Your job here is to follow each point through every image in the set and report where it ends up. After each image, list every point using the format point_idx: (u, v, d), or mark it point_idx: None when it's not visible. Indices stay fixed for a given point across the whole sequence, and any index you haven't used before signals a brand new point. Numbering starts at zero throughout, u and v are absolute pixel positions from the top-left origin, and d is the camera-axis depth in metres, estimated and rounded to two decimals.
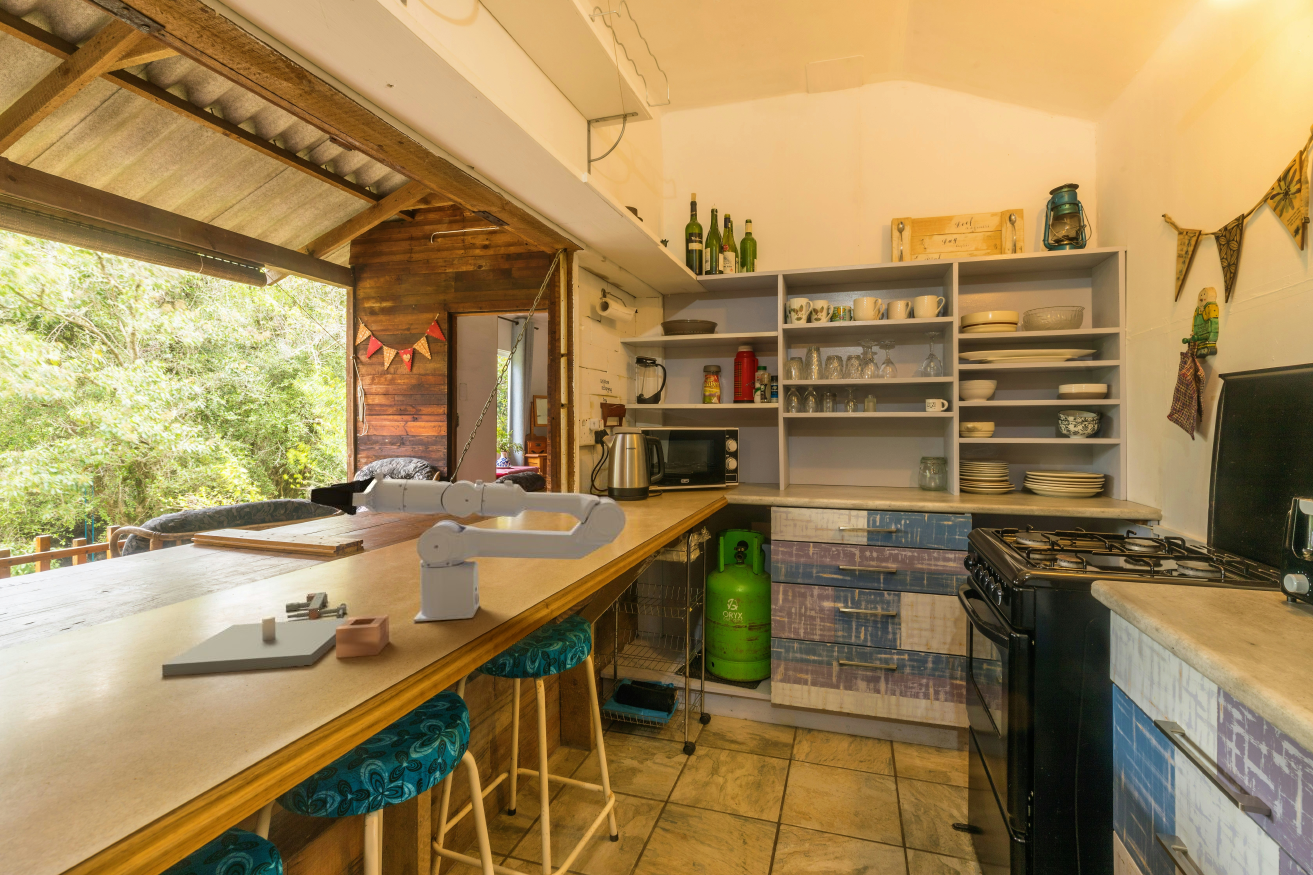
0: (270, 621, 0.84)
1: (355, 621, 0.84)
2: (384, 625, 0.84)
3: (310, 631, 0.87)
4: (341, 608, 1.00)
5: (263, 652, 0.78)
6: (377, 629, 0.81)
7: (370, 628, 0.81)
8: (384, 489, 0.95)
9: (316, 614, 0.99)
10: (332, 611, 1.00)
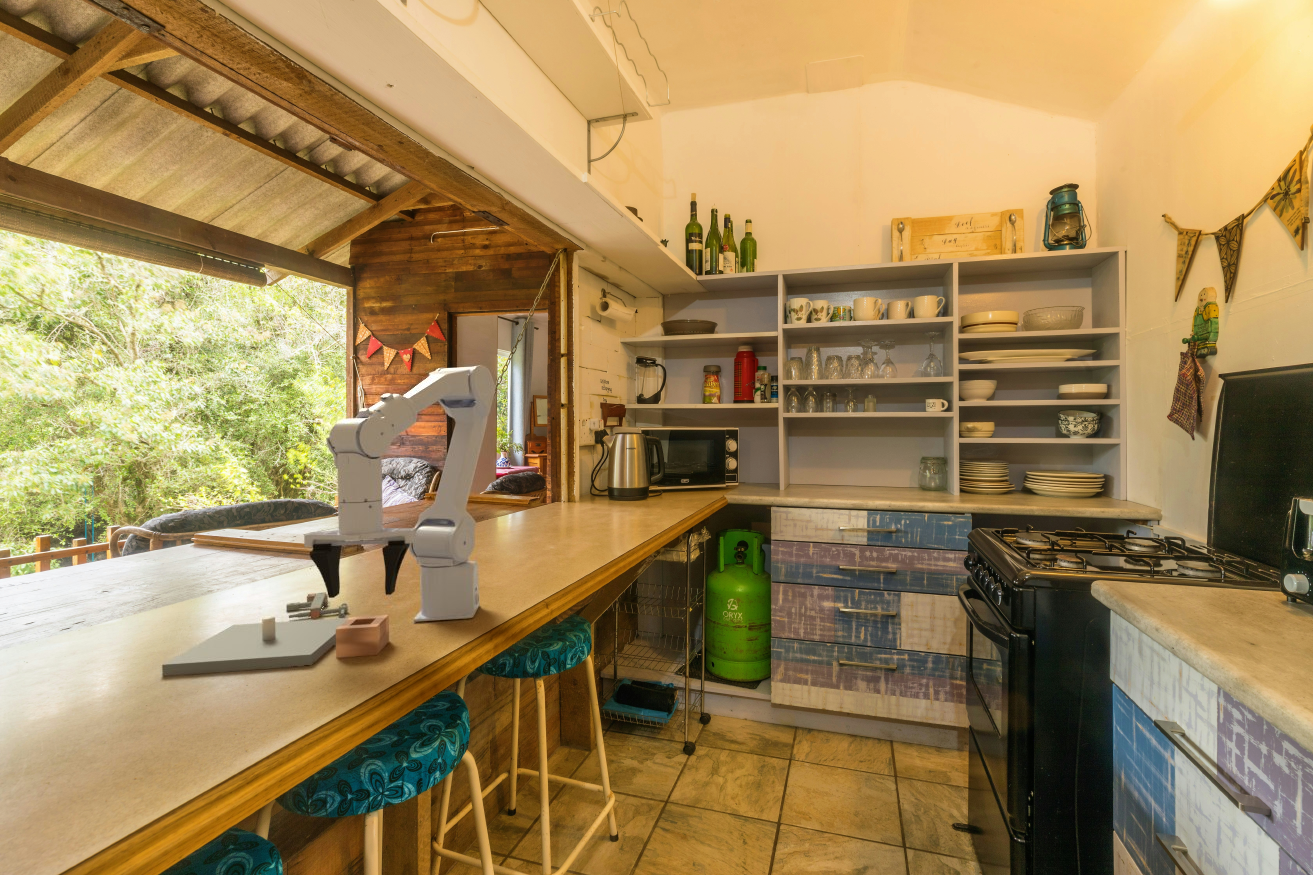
0: (270, 621, 0.84)
1: (355, 621, 0.84)
2: (384, 625, 0.84)
3: (310, 631, 0.87)
4: (343, 608, 1.00)
5: (263, 652, 0.78)
6: (377, 629, 0.81)
7: (370, 628, 0.81)
8: (376, 522, 0.82)
9: (318, 614, 0.99)
10: (334, 611, 1.00)
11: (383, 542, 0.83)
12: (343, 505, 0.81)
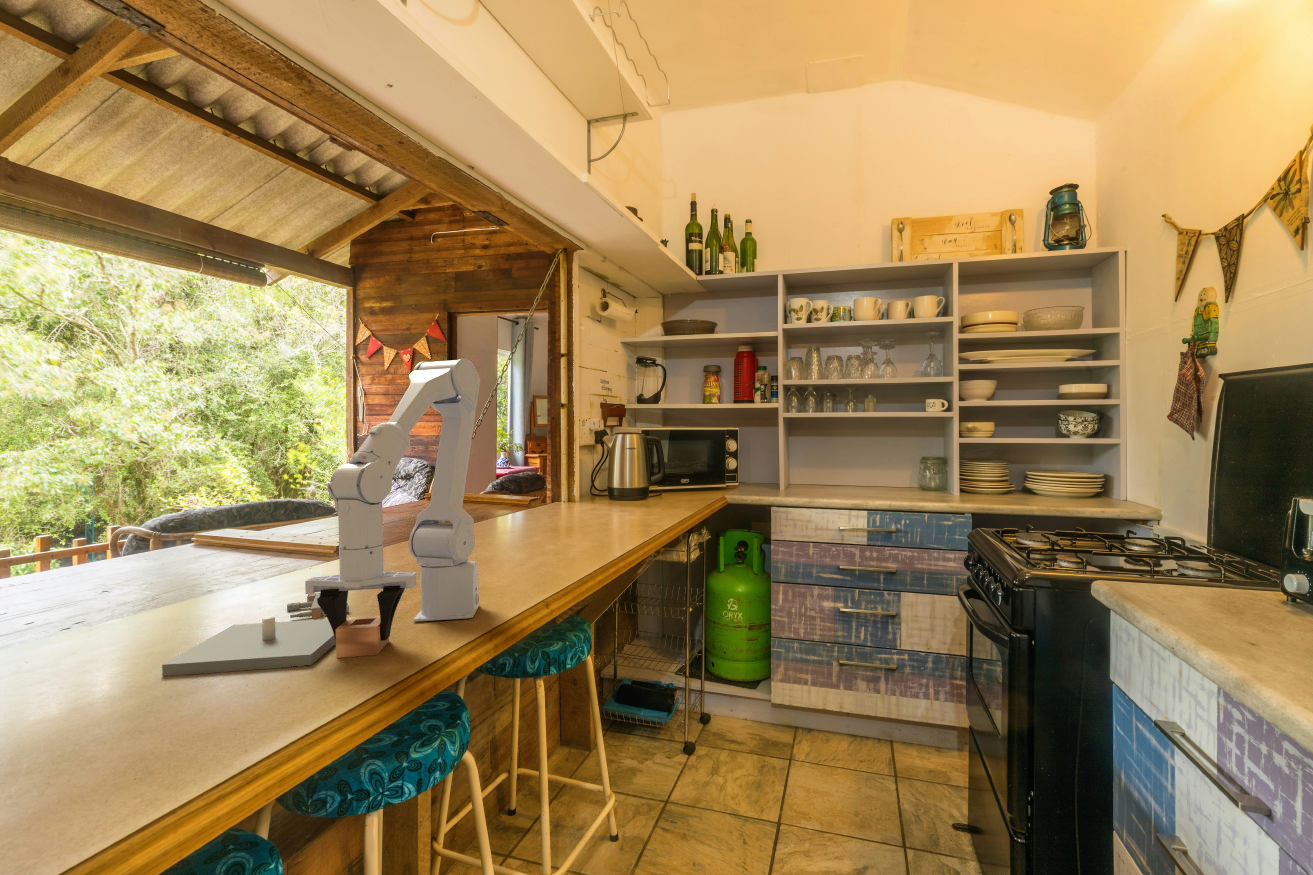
0: (270, 621, 0.84)
1: (355, 621, 0.84)
2: None
3: (310, 631, 0.87)
4: None
5: (263, 652, 0.78)
6: (377, 629, 0.81)
7: (370, 628, 0.81)
8: (377, 568, 0.82)
9: (319, 614, 0.99)
10: None
11: None
12: (344, 552, 0.81)
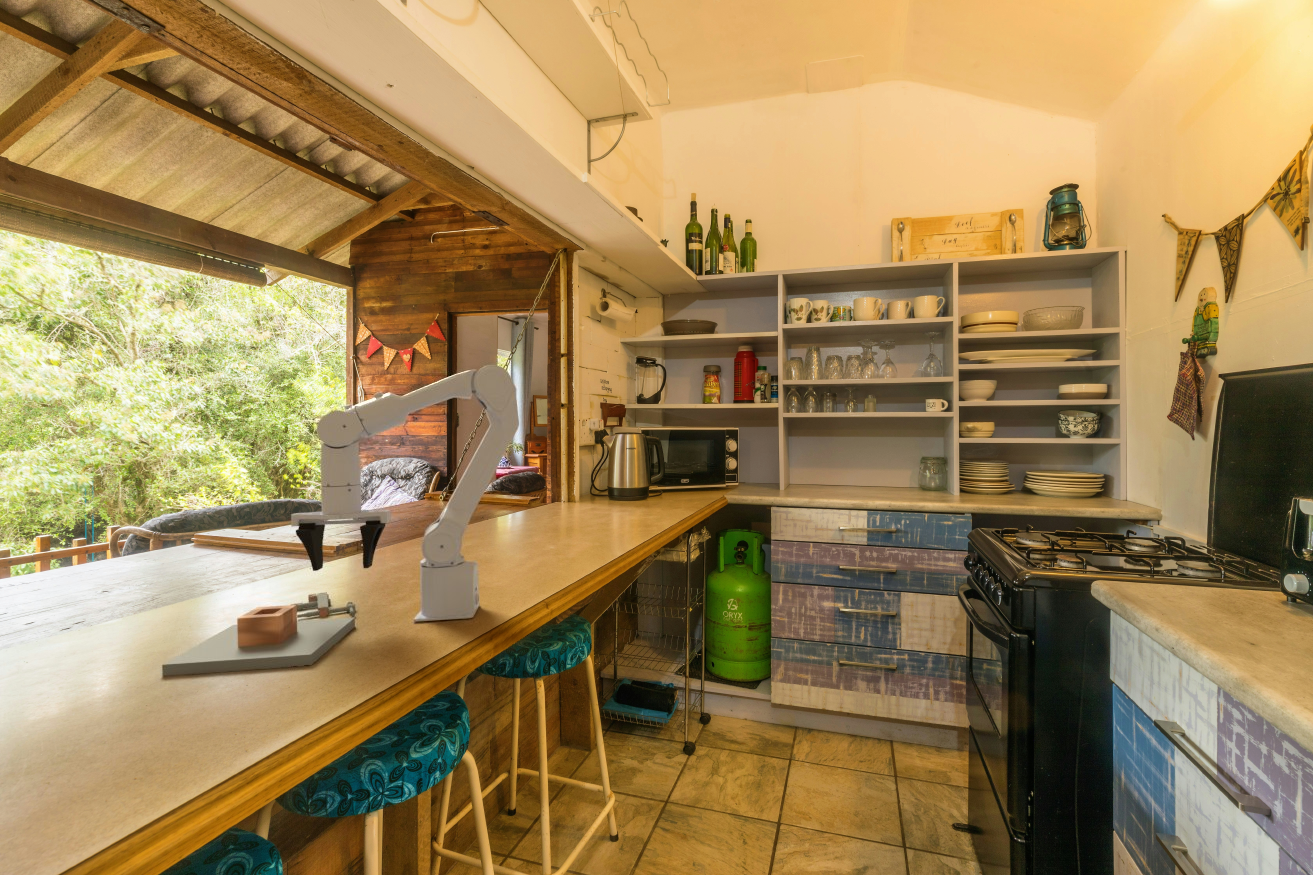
0: None
1: (261, 611, 0.85)
2: (290, 615, 0.85)
3: (310, 631, 0.87)
4: (351, 606, 1.02)
5: (263, 652, 0.78)
6: (280, 618, 0.82)
7: (272, 617, 0.82)
8: (355, 504, 0.93)
9: (326, 613, 1.00)
10: (342, 609, 1.01)
11: (361, 522, 0.94)
12: (325, 489, 0.91)
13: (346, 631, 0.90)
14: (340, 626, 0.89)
